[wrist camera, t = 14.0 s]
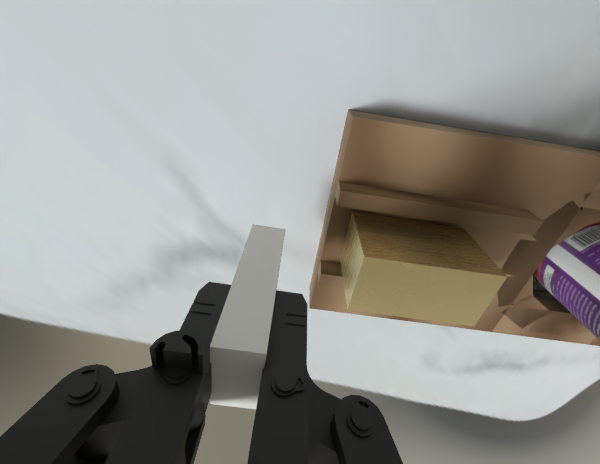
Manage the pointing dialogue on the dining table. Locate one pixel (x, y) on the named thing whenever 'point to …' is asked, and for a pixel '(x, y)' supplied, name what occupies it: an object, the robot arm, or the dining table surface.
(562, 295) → the pill bottle
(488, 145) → the dock plate
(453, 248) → the bar
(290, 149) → the dining table surface
